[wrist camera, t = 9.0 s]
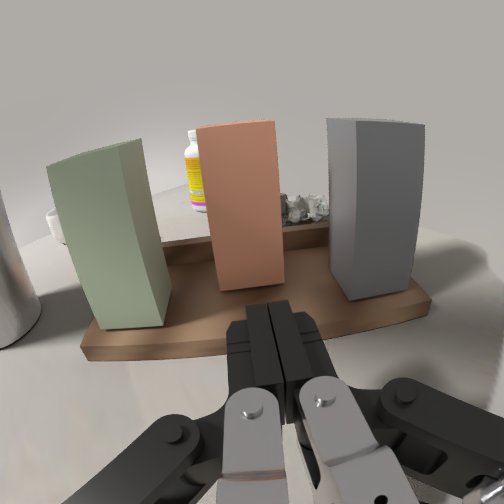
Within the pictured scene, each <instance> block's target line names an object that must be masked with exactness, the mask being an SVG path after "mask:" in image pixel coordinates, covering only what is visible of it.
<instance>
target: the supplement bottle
mask: <svg viewBox="0 0 504 504" xmlns="http://www.w3.org/2000/svg"><path fill="white" fill-rule="evenodd" d="M188 138H189V140H190V141H191V145H190V146H189V147H188V148H187V149H186V151H185V161H186V168H187V175H188V182H189V189H190V196H191V202H192V207H193V208H194V209H195V210H197V211H201V212H207V209H206V202H205V196H204V189H203V182H202V175H201V167H200V160H199V153H198V145H197V137H196V130H191V131H188Z"/></svg>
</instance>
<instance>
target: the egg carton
mask: <svg viewBox="0 0 504 504" xmlns="http://www.w3.org/2000/svg"><path fill="white" fill-rule="evenodd" d="M296 199H297V200H296V201H288V198H287V195H286V194H284V193H280V201H281V214H287V215H289V217H288V219H287V221H286V225H284V226H282V227H288V226H297V225H306V224H315V223H324V222H329V219H328V217H327V216H328V215H329V209H328V205H327V203H326V200H325V197H324V195H318V196H310V195H309V196H308V197H306V198H303V197H300V195H298V196H297V197H296ZM307 212H309V213H311V214H313V218H312V217H308V215H307Z"/></svg>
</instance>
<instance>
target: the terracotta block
mask: <svg viewBox="0 0 504 504" xmlns="http://www.w3.org/2000/svg"><path fill="white" fill-rule="evenodd" d="M196 137H197V145H198V153H199V160H200V167H201V175H202V182H203V189H204V196H205V202H206V209H207V216H208V222H209V228H210V235H211V241H212V247H213V253H214V259H215V265H216V271H217V277H218V282H219V288H220V291H226V290H235V289H243V288H251V287H258V286H266V285H273V284H281V283H285V277H284V255H283V235H282V217H281V201H280V186H279V171H278V157H277V145H276V132H275V121H273V120H253V121H242V122H232V123H224V124H216V125H209V126H201V127H199V128H197V129H196Z"/></svg>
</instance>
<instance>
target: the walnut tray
mask: <svg viewBox="0 0 504 504" xmlns="http://www.w3.org/2000/svg"><path fill="white" fill-rule="evenodd" d="M282 235H283V255H284V277H285V283H281V284H273V285H266V286H258V287H251V288H243V289H235V290H226V291H220V288H219V282H218V277H217V271H216V265H215V259H214V253H213V247H212V241H211V236H206V237H199V238H191V239H184V240H176V241H169V242H162V248H163V252H164V256H165V260H166V264H167V268H168V272H169V276H170V280H171V284H172V290H171V294H170V298H169V302H168V307H167V311H166V315H165V320H164V324H163V326H151V327H137V328H120V329H100V327H99V325H98V322H97V320H96V318H95V316H94V318H93V320H92V322H91V324H90V326H89V328H88V330H87V332H86V334H85V336H84V338H83V340H82V343H81V345H80V348H81V349H82V351H83V353H84V355H85V356H86V358H87V360H88V361H130V360H157V359H175V358H189V357H201V356H212V355H222V354H227V344H226V331H227V329H228V327H229V325H230V323H231V322H232V321H238V320H246V319H247V317H246V309H245V305H249V304H257V303H264V302H266V306H267V302H271V301H278V300H286V299H288V301H289V303H290V306H291V309H292V312H293V313H296V312H303V311H305V312H306V313H307V314H308V315H310V316H311V317H312V318H313V319H314V320H315V323H316V325H317V328H318V330H319V332H320V335H321V337H322V340H324V339H330V338H335V337H340V336H345V335H349V334H354V333H359V332H363V331H367V330H372V329H376V328H380V327H384V326H388V325H392V324H396V323H400V322H404V321H408V320H412V319H415V318H419V317H422V316H426V315H427V314H428V311H429V308H430V304H431V301H432V299H431V298H430V297H429V296H428V295H427V294H426V293H425V292H424V291H423V289H422V288H421V287H420V286H419V285H418V284H417V283H416V282H415V281H414V280H413V279H412V278H411V277H410V281H409V286H408V289H406V290H401V291H397V292H392V293H387V294H382V295H377V296H372V297H367V298H362V299H357V300H352V301H349V300H348V298H347V296H346V295H345V293H344V291H343V290H342V288H341V287H340V285H339V283H338V282H337V280H336V279H335V277H334V275H333V274H332V272H331V271H330V269H329V267H328V250H329V222H324V223H315V224H306V225H297V226H288V227H282Z"/></svg>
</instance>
